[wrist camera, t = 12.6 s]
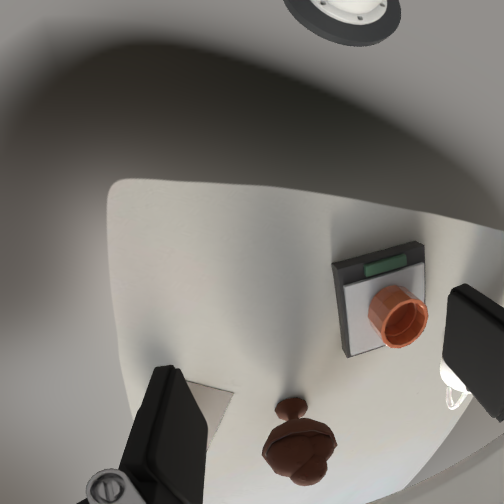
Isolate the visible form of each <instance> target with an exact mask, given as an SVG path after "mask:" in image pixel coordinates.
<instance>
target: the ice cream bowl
mask: <svg viewBox="0 0 504 504" xmlns="http://www.w3.org/2000/svg"><path fill="white" fill-rule="evenodd" d="M307 408H308V406H307V404H306V401H305V400H302V399H300V398H287V399H285V400H283V401H282V402H280V403H278V405H277V407H276V409H275V412H276V414H277V416H278V417H279V418H280V419H283V420H286V421H287V422H285V423H283V424H281V425H279V426H277V427H276V428H274V429H273V430H272V431H271V433H270V435H269V437H268V439H267V441H266V443H265V445H264V447H263V450H262V456H263V457H264V459H265V460H266V461H267V463H268V464H269V465H270V466H271V468H272V469H273V471H274V472H275V473H276V474H279V475H281V476H286V477H290V479H291V480H292V481H293V482H294V483H295V484H297V485H300V486H309V485H314V484H316V483H318V482H319V481H320V480H321V479H322V478H323V477H324V476H325V474H326V472H327V462H326V461H327V460H328V459H329V458H330V456H331V455H332V454H333V451H334V449H335V448H336V446H337V443H336V440H335V437H334V434H333V432H332V431H331V429H330V428H329V427H328V426H327V425H325V424H324V423H321V422H318V421H315V420H312V419H309V418H300V417H302V416H304V414H305V413H306V411H307ZM299 418H300V419H299Z"/></svg>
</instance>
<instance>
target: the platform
mask: <svg viewBox="0 0 504 504" xmlns="http://www.w3.org/2000/svg"><path fill="white" fill-rule="evenodd" d="M186 382H187V384H188V386H189V388H190V390H191V392H192V394H193V396H194V398H195V400H196V402H197V404H198V406H199V408H200V410H201V412H202V414H203V416H204V418H205V419H206V421H207V425H208V439H207V450H208V448H209V446H210V444H211V442H212V440H213V438H214V435H215V433H216V431H217V429H218V427H219V425H220V423H221V420H222V418H223V416H224V414H225V412H226V410H227V407H228V405H229V403H230V401H231V399H232V396H233V394H234V393H231V392H226V391H222V390H218V389H214V388H210V387H206V386H203V385H199V384H195V383H192V382H188V381H186ZM206 452H207V451H206Z"/></svg>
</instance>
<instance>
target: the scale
mask: <svg viewBox="0 0 504 504" xmlns="http://www.w3.org/2000/svg"><path fill="white" fill-rule="evenodd" d="M332 269H333V276H334V283H335V290H336V297H337V305H338V313H339V321H340V330H341V339H342V349H343V351H344V353H345V355H346V357H347V358H349V357H353V356H356V355H359V354H362V353H365V352H368V351H371V350H374V349H377V348H380V347H383V346H386V344H385V343H383V341H382V340H381V339H380V337H379V336H378V335H377V333H376V332H375V331H374V329H373V328H372V327H371V325H370V322H369V319H368V309H369V305H370V302H371V300H372V299H373V297H374V296H375V295H376V294H377V293H378V292H379V291H380V290H382V289H383V288H385V287H388V286H393V285H398V286H404V287H405V288H407V289H408V290H409V291H410V292H411V293H413V294H414V295H415V296H416V297H418V298H419V299H420V300H421V301H422V302H423V303H424V304H425V252H424V245H423V244H421V243H419V242H417V241H413V242H409V243H406V244H402V245H399V246H395V247H391V248H388V249H384V250H381V251H377V252H373V253H369V254H366V255H362V256H358V257H354V258H351V259H347V260H343V261H339V262H335V263H332ZM423 331H424V330H423Z"/></svg>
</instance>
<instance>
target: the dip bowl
mask: <svg viewBox="0 0 504 504" xmlns="http://www.w3.org/2000/svg"><path fill="white" fill-rule="evenodd" d="M368 319H369V322H370V325H371V327H372V328H373V329H374V331H375V332H376V333H377V335H378V336H379V337H380V339H381V340H382V341H383V343H385V344H386V345H387V346H389V347H390V348H402V347H404V346H407V345H410V344H411V343H412V342H413V341H415V340H416V339H417V338H418V337H419V336H420V335H421V333H422V332H423V330H424V328H425V327H426V323H427V319H428V311H427V306H426V305H425V304H424V303H423V302H422V301H421V300H420V299H419V298H418V297H416V296H415V295H414V294H413V293H411V292H410V291H409V290H408V289H407V288H405V287H404V286H398V285H393V286H388V287H385V288H383V289H382V290H380V291H379V292H378V293H377V294H376V295H375V296H374V297H373V299H372V300H371V302H370V305H369V309H368Z"/></svg>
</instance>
